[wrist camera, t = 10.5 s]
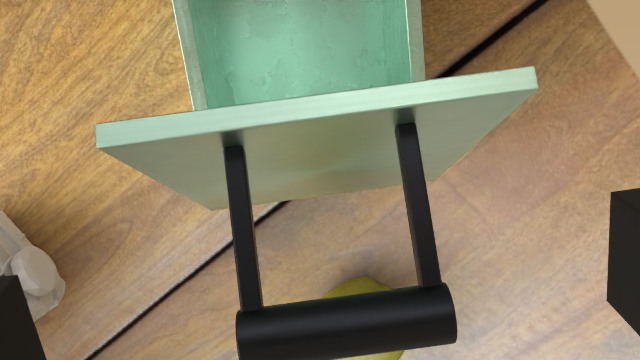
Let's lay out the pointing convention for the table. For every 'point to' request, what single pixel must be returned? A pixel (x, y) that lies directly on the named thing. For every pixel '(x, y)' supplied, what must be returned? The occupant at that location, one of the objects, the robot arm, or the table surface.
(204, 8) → the freezer
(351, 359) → the apple
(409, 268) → the table surface
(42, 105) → the table surface
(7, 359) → the robot arm
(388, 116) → the freezer lid
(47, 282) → the toy car
